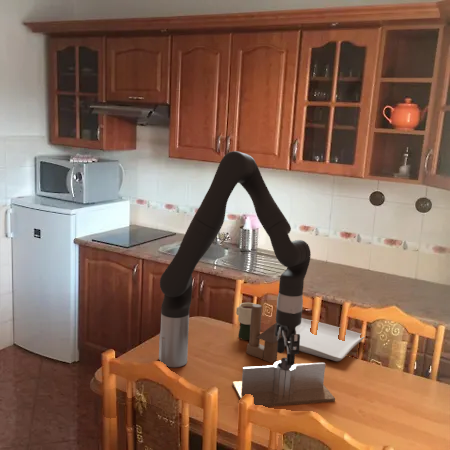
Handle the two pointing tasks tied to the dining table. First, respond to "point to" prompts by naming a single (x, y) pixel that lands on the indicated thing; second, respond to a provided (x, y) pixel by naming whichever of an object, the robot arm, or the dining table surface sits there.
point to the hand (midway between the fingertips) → (285, 358)
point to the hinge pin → (284, 363)
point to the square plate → (326, 340)
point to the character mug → (244, 320)
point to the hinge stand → (284, 384)
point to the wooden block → (261, 337)
